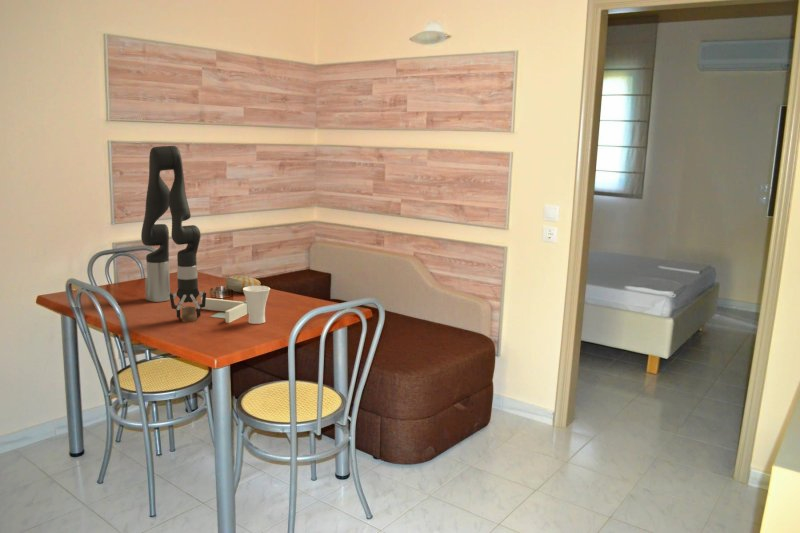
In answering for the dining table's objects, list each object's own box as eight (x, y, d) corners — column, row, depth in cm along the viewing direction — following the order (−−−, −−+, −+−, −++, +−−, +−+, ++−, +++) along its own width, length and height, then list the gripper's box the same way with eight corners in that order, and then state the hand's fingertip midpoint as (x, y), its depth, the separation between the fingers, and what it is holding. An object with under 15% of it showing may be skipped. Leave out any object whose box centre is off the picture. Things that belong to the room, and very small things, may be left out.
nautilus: (214, 289, 315) (242, 287, 325) (236, 295, 299) (265, 293, 309) (214, 273, 314) (242, 271, 324) (236, 278, 298) (265, 276, 308)
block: (182, 322, 258) (181, 309, 257) (182, 318, 263) (181, 306, 262) (195, 321, 260) (195, 308, 259) (195, 317, 264) (194, 305, 263)
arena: (180, 317, 264) (180, 304, 263) (203, 307, 279) (203, 295, 278) (229, 322, 258) (229, 310, 257) (249, 312, 273) (249, 300, 272)
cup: (257, 327, 254) (256, 292, 251) (237, 322, 259) (236, 288, 256) (276, 321, 262) (275, 288, 260) (256, 317, 268) (256, 284, 265)
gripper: (167, 279, 252) (169, 321, 255) (207, 277, 257) (208, 319, 260) (167, 275, 259) (169, 316, 262) (206, 274, 264) (207, 314, 267)
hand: (188, 318), depth 261 cm, fingers open, 6 cm apart
